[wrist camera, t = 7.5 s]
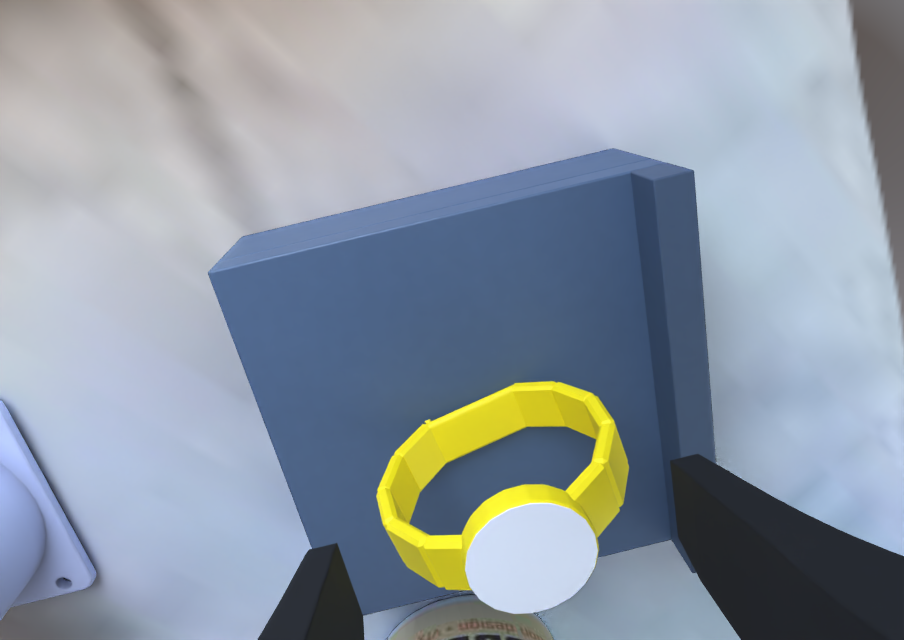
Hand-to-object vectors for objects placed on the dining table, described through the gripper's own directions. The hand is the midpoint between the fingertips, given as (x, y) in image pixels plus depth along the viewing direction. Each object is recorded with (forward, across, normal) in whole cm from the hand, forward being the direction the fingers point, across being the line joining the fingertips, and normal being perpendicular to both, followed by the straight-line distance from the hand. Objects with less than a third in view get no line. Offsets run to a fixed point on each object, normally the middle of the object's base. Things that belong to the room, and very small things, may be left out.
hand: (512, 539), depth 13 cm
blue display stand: (+9, 0, 0) cm, 9 cm away
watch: (+5, 0, 0) cm, 5 cm away
